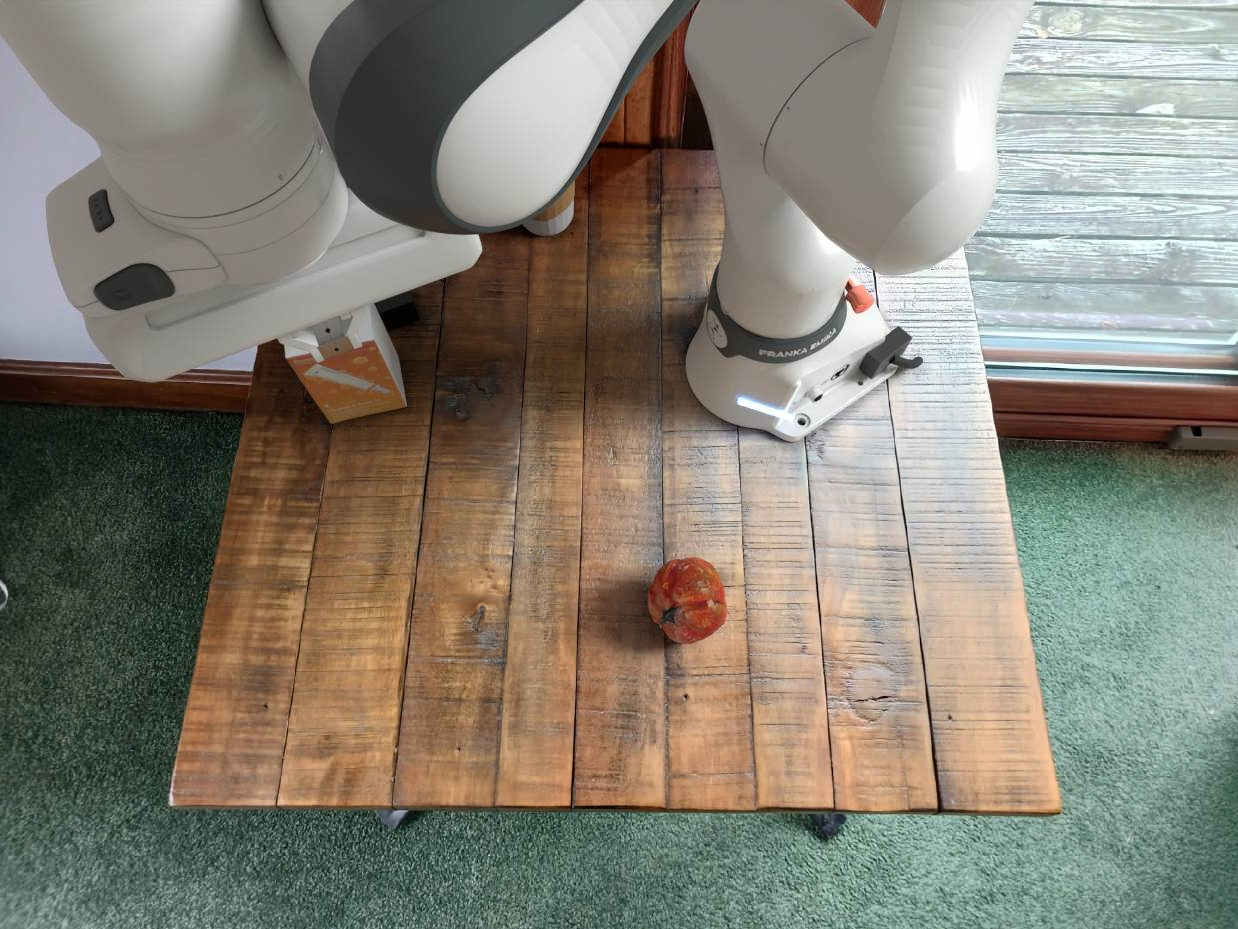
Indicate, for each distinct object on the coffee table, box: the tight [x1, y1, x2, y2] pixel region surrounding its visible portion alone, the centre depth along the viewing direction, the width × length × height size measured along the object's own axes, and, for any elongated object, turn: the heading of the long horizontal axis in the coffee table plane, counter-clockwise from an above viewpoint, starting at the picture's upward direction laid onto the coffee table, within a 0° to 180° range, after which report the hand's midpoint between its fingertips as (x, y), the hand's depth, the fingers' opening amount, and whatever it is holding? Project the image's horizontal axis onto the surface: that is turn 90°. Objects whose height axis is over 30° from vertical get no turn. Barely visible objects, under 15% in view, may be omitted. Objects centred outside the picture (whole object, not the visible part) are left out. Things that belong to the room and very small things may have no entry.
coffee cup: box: [522, 179, 576, 237], centre depth 87 cm, size 8×8×15 cm
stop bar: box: [374, 290, 421, 333], centre depth 86 cm, size 12×3×4 cm, turn 115°
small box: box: [283, 303, 408, 425], centre depth 78 cm, size 8×6×13 cm
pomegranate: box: [647, 556, 728, 645], centre depth 72 cm, size 7×7×10 cm
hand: (337, 346), depth 50 cm, fingers closed
